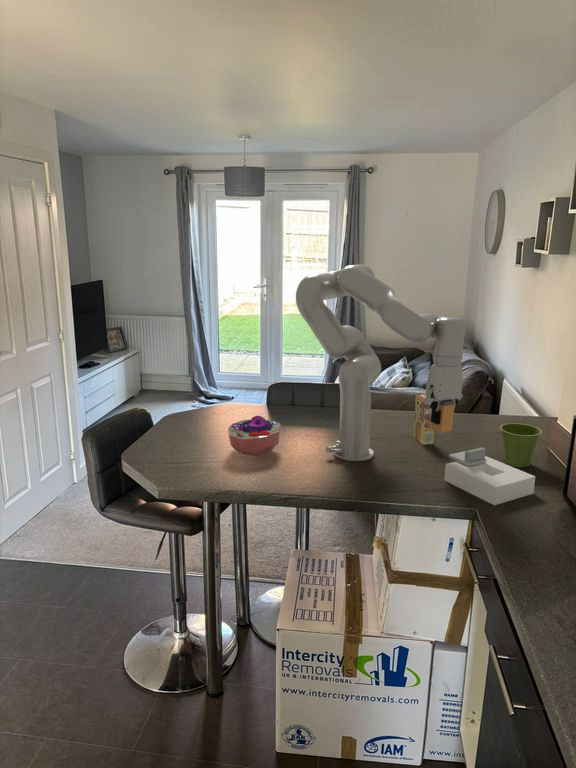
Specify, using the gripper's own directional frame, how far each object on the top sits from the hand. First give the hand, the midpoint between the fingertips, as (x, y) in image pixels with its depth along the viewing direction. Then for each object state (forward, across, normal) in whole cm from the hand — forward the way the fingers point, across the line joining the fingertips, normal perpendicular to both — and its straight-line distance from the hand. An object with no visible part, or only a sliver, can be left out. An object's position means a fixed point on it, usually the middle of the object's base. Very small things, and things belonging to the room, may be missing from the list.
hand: (441, 421), depth 165 cm
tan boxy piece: (+2, 0, 0) cm, 2 cm away
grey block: (+10, -4, +8) cm, 13 cm away
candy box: (+16, -15, -22) cm, 31 cm away
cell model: (+17, +41, -39) cm, 59 cm away
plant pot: (+15, -26, +8) cm, 31 cm away
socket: (+15, -4, +16) cm, 22 cm away
